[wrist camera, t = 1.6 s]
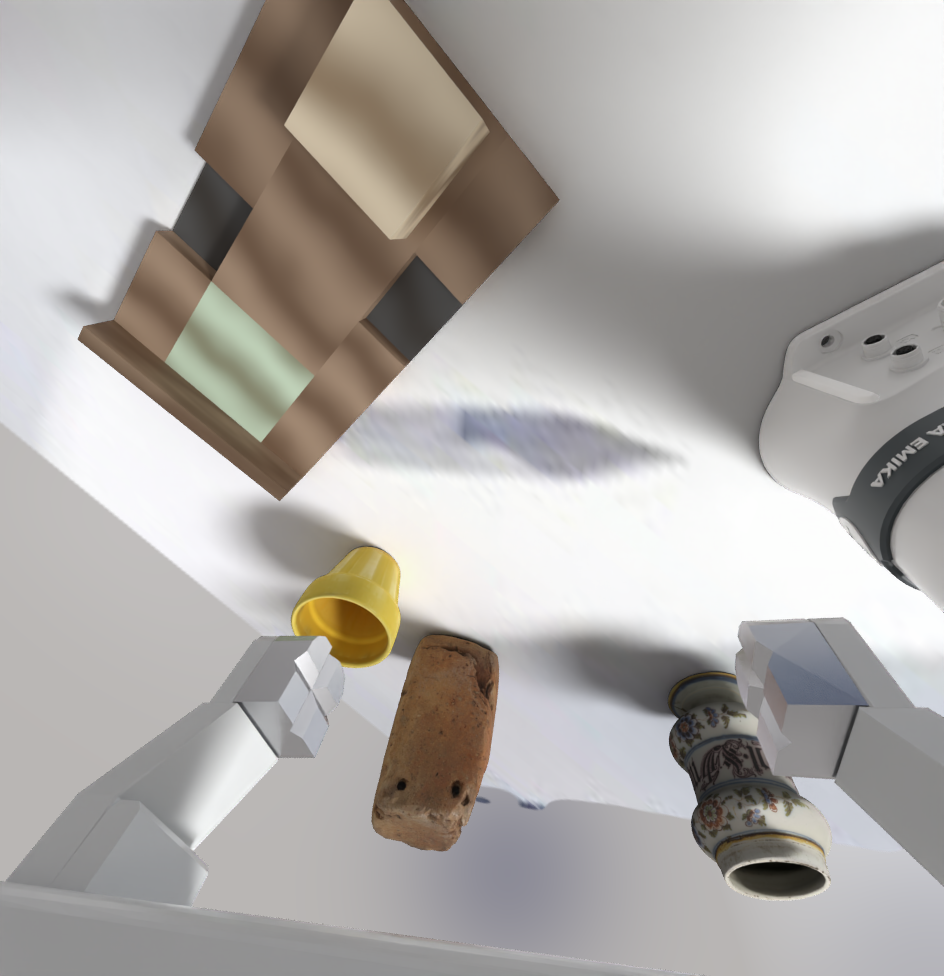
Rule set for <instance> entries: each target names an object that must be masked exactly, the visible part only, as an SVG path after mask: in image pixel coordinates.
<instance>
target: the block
mask: <svg viewBox="0 0 944 976" xmlns="http://www.w3.org/2000/svg"><path fill="white" fill-rule="evenodd" d="M498 683H499V664H498V657H497V655H496V654H495V653H494V652H492V651H490V650H488V649H485V648H483V647H481V646H479V645H478V644H476V643H473V642H470V641H466V640H462V639H458V638H455V637H451V636H446V635H429V636H426V637H424V638H423V639H422V640H421V641H420V643H419V645H418V647H417V649H416V651H415V653H414V656H413V658H412V660H411V663H410V666H409V669H408V672H407V677H406V680H405V683H404V686H403V689H402V693H401V698H400V701H399V704H398V709H397V712H396V715H395V719H394V723H393V727H392V730H391V734H390V738H389V742H388V745H387V749H386V753H385V756H384V761H383V765H382V770H381V775H380V779H379V782H378V786H377V790H376V794H375V799H374V804H373V810H372V824H373V828H374V830H375V831H376V833H378V834H379V835H381V836H383V837H384V838H387V839H391V840H396V841H402V842H404V843H406V844H408V845H410V846H411V847H415V848H418V849H421V850H436V851H447V850H448V849H450V848H451V846H452V845H453V844H455V843H456V841H457V840H458V838H459V836H460V834H461V826H465V825H467V822H468V820H469V817H470V815H471V812H472V809H473V806H474V803H475V799H476V797H477V795H478V792H479V788H480V785H481V782H482V778H483V774H484V773H485V771H486V768H487V764H488V761H489V755H490V748H491V741H492V734H493V727H494V719H495V712H496V703H497V695H498Z"/></svg>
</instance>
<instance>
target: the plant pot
mask: <svg viewBox="0 0 944 976" xmlns="http://www.w3.org/2000/svg"><path fill="white" fill-rule="evenodd" d="M399 584H400V569H399V566H398V564H397V563H396V561H395V560H394V559H393V558H392V557H391V556H390V555H389V554H388V553H386V552H385V551H383V550H380V549H378V548H374V547H359V548H356V549H354V550H352V551H351V552H349V553H348V554H347V555H346V556H345V557H344V558H343V559H342V560H341V561H340V562H339V563H338V564H337V565H336V566H335V567H334V568H333V569H332V570H331V571H330V572H329V573H328V574H327V575H324V576H321V577H319V578H317V579H316V580H314V581H313V582H312V583H311V584H310V585H309V586H308V588H307V589H306V590H305V592H304V593H303V595H302V596H301V598H300V599H299V601H298V602H297V604H296V606H295V607H294V609H293V612H292V616H291V625H292V629H293V632H294V634H295V636H325V637H326V638H327V639H328V641H329V643H330V644H331V646H332V648H331V651H330V655H331V656H333V657H334V658H336V659H337V660H338V661H340V664H341V666H342V667H348V668H364V667H369V666H373V665H376V664H378V663H380V662H381V661H383V660H384V659H385V658H386V657H387V656H388V655H389V653H390V652H391V650H392V647H393V645H394V642H395V639H396V636H397V633H398V629H399V626H400V620H401V616H400V611H399V608H398V594H399Z"/></svg>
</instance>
